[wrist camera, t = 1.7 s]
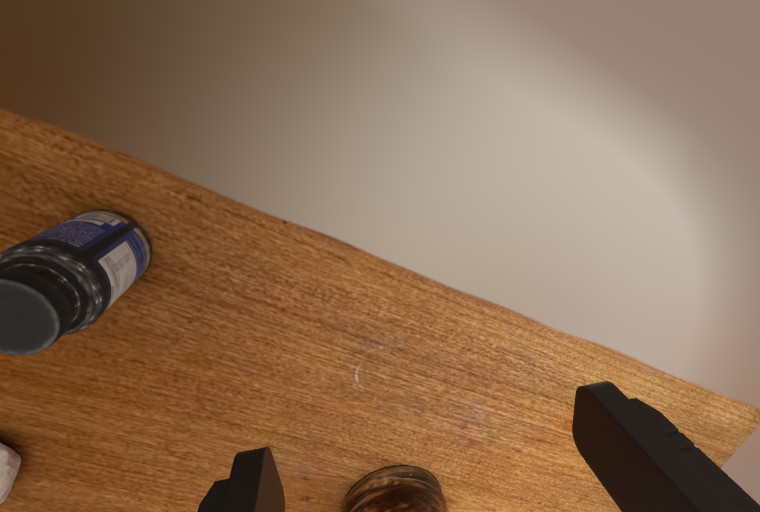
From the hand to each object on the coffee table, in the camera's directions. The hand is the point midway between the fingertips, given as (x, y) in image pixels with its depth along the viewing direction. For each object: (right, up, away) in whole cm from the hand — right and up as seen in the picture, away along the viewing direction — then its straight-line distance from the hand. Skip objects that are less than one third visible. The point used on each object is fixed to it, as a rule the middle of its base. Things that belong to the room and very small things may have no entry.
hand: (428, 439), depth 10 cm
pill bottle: (-22, +6, +21) cm, 31 cm away
